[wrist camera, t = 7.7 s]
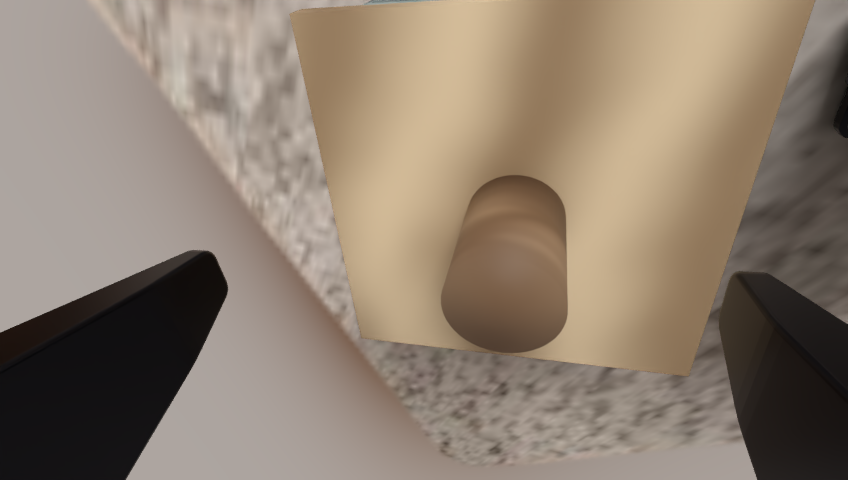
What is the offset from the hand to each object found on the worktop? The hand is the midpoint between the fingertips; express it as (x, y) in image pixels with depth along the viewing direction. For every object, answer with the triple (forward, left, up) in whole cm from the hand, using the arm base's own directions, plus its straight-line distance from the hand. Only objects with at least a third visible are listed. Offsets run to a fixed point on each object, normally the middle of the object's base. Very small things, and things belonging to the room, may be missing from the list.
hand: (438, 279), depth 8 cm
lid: (-1, +3, -8) cm, 9 cm away
